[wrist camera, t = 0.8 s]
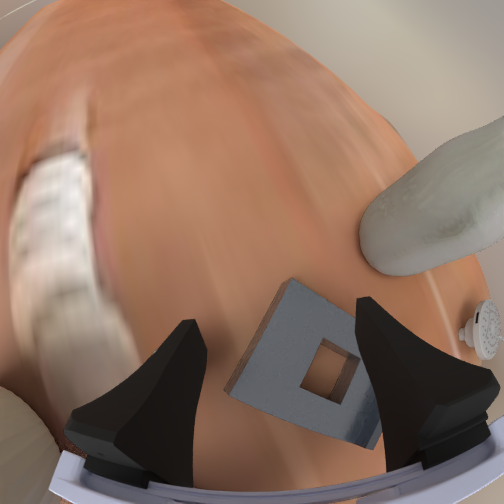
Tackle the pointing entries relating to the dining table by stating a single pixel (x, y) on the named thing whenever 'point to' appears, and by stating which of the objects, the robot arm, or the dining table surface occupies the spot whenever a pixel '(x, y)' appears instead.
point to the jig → (297, 364)
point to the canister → (25, 454)
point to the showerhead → (483, 330)
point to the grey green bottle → (439, 206)
